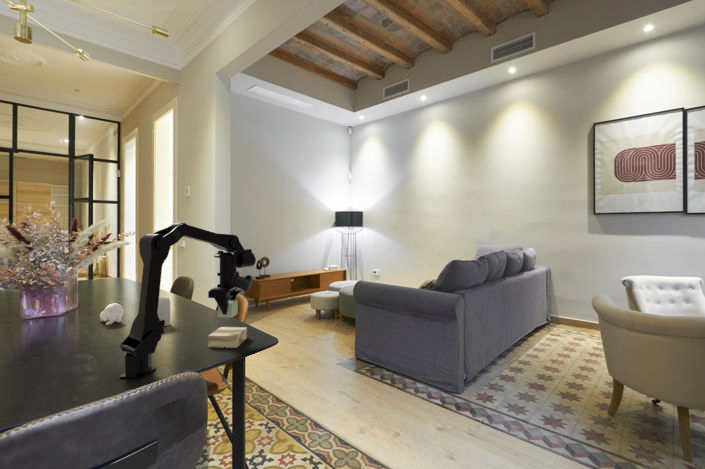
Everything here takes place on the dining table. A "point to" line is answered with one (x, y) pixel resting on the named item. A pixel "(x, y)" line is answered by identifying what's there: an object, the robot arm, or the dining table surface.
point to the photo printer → (164, 309)
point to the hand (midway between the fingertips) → (228, 312)
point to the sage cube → (229, 309)
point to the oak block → (227, 337)
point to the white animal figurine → (112, 313)
